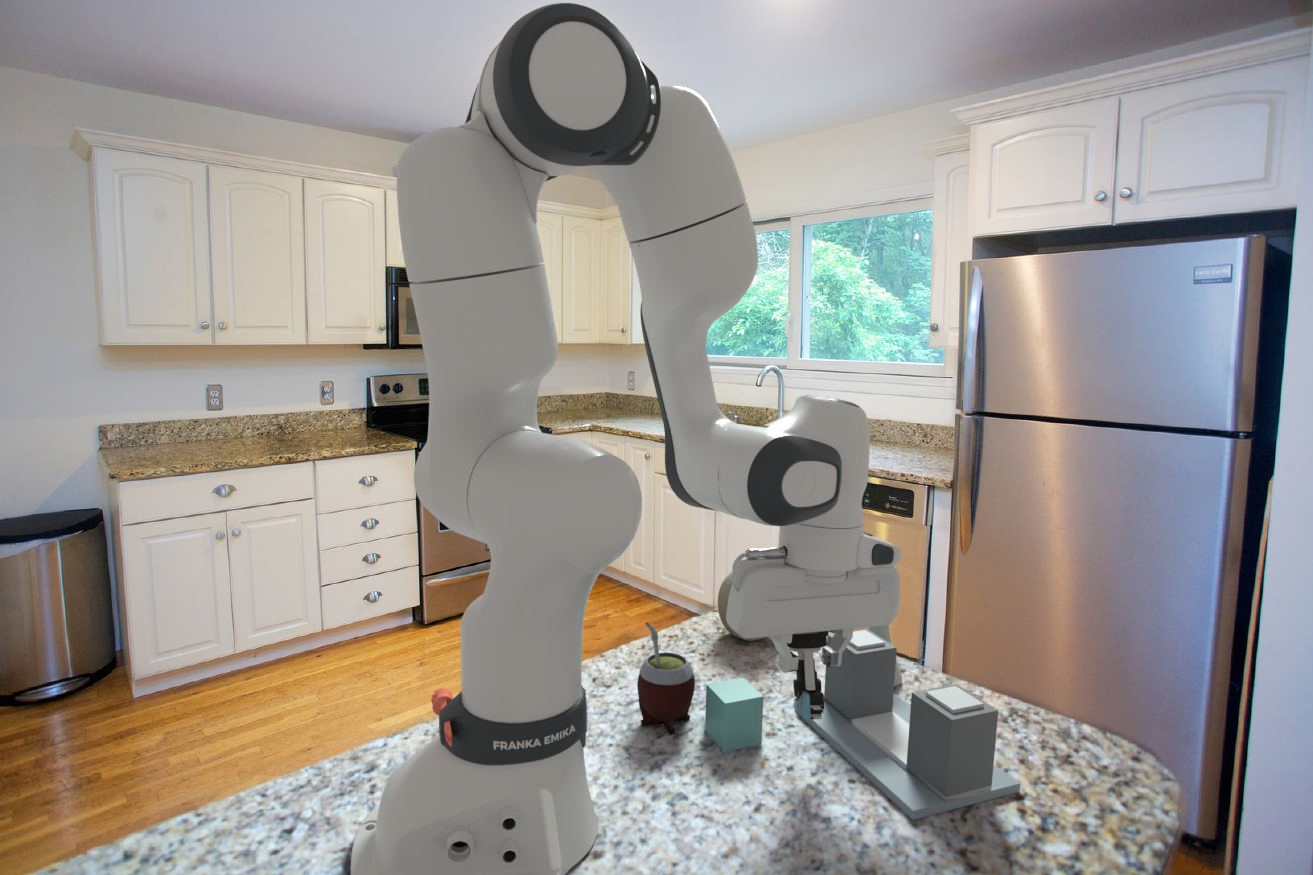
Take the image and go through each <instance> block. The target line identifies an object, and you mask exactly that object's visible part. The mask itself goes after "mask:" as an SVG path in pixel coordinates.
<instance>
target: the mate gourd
mask: <svg viewBox="0 0 1313 875" xmlns="http://www.w3.org/2000/svg"><path fill="white" fill-rule="evenodd" d="M644 624H645V625H646V626H647V628H648V629H649V631H650V637H651V641H652V642H653V651H654V654H651V655H649V656H648V657H647V658H646V659H645V660H644V661H643V663H642V664H641V666H640V669H639V674H638V677H637V682H636V683H637V695H638V706H639V709H640V710H639V711H640V713H641V717H642V719H640V725H641V727H650V726H657V725H661V726H662V725H663V726H664V728H665V730H666V733H667V734H668V736H675V735H676V732H677V731H676V729H675V727H674V725H675V723H680V722H681V723H682V722H688V721H690V718H691V715H690V714H689V711H690V708H691V705H692V701H693V698H694V693H695V687H696V679H695V673H694V668H693V666H692V665H691V664H690V662H689V661H688V659H687V658H686V657H685V656H683V655H681V654H678V653H674V652H664V651H663V652H660V649H659V643H658V640H659V635H658V634H659V633H658V631H656V629H655V626H653V625H652V624H651V623H650V622H647V621H646V622H645V623H644Z"/></svg>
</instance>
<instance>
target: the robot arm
mask: <svg viewBox="0 0 1313 875" xmlns="http://www.w3.org/2000/svg"><path fill="white" fill-rule="evenodd" d="M638 56H639V55H637V53H636V51H635V49H634V48H633V46H632V44H631V43H630V41H629V40H628V38H627V37H626V36H625V35H624V34H623V33H622V32H621V30H620V28H618V27H617V26H616V24H614V23H613V22H612V21H611V19H609V18H607V17H606V16H605V15H604V14H602V13H600V11H597V10H595V9H593V8H591V7H588V6H586V5H582V4H578V3H574V2H573V3H572V2H557V3H550V4H547V5H543V6H541V7H538V8H536V9H534V10H532V11H530V12H528V13H526V14H524V15H523V16H521V17H520V18H519V19H518V20H516V21H515V23H513V24H512V25H511V26H510V28H509V29H508V30H507V31H506V33H505V34H504V36H503V38H502V39H501V40H500V42H499V43H498V44H497V45H496V46H495V47H494V48H493V49H492V51H491V52H490V54H489V55H488V58H487V60H486V61H485V64H484V66H483V69H482V71H481V75H480V78H479V81H478V83H477V86H476V87H475V91H474V94H473V96H472V99H471V103H470V108H469V109H468V110H469V111H468V113H467V117H466V119H465V123H463V124H461V125H459V126H449V127H442V128H438V129H434V130H431V131H429V132H427V133H424V134H422V135H420V136H419V137H418V138H417V137H416V139H415V140H413V141H412V142H411V143H409V144H408V145H407V146H406V147H405V149H404V150H403V151H402V153H401V155H400V157H399V159H398V162H397V167H396V199H397V201H396V202H397V214H398V226H399V233H400V240H401V241H400V242H401V246H402V255H403V262H404V267H405V272H406V276H407V280H408V282H409V290H410V294H411V298H412V303H413V308H414V312H415V317H416V320H417V326H418V330H419V335H420V340H421V345H422V346H421V347H422V351H423V353H424V354H423V355H424V359H425V366H426V373H427V379H428V394H429V395H428V400H429V401H428V402H429V403H428V404H429V405H428V423H427V424H428V427H427V429H428V430H427V440H426V443H425V444H424V446H423V447H422V448H421V451H420V452H419V454H418V456H417V459H416V462H415V466H414V470H413V471H414V472H413V483H414V489H415V492H416V496H417V497H418V500H419V502H420V503H421V504H422V506H423V507H424V508H425V509H426V510H427V511H428V512H429V513H430V514H431V515H432V516H433V517H434V518H436V519H437V520H438V521H439V522H440V523H441V524H443V525H444V526H445V527H446V528H447V529H449V530H451V532H454V533H457V534H458V535H461V536H464V537H467V538H470V539H472V540H475V541H478V542H481V543H484V544H486V545H487V547H488V549H489V553H490V567H489V572H488V573H489V574H488V577H487V582H486V584H485V588H484V591H483V594H481V595H480V596H478V597H477V598H476V599H474V600H473V601H472V602H471V603H470V604H469V605H468V606H467V607H466V609H465V611H464V612H463V615H462V616H461V620H460V626H459V629H460V673H461V674H460V676H461V682H460V683H461V690H460V691H459V692H458V694H457V695H456V696H454V695H453V691H451V690H450V689H449V688H448V687H440V688H437V689H436V690H434V693H432V695H431V699H430V700H431V705H432V712H433V713H434V714H436V715H437V716H438V733H439V734H438V735H436V736H435V737H434V738H433V739H431V740H430V741H429V742H428V743H426V744H425V745H424V746H423V747H421V748H420V749H419V750H417V752H415V753H414V754H412V755H411V756H410V757H408V759H406V760H405V761H403V762H402V763H400V764H399V765H398V766H397V767H396V768H394V770H393V771H392V772H391V773H390V776H389V777H388V779H387V782H386V784H385V786H384V789H383V792H382V795H381V798H380V802H379V806H378V807H376V808H374V809H373V810H372V811H370V812H369V814H368V815H367V816H366V817H365V818H364V820H363V821H362V822H361V824H360V826H359V827H358V829H357V832H356V833H355V837H354V839H353V844H352V850H351V857H350V858H351V859H350V868H349V870H350V871H349V872H350V874H349V875H566V874H567V873H568V872H569V870H571V869H572V868H573V867H574V866H575V865H577V864H578V863H579V862H580V861H581V860H582V859H583V858H584V857H585V856H586V855H587V854H588V853H589V851H590V850H591V849H592V847H593V845H594V843H595V841H596V838H597V834H598V832H599V831H598V830H599V820H598V817H597V813H596V811H595V807H594V804H593V801H592V797H591V793H590V789H589V782H588V777H587V770H586V763H585V762H586V761H585V752H584V751H585V750H584V748H585V746H586V744H587V742H586V741H587V733H588V700H587V693H586V689H585V687H583V684H582V677H583V676H582V668H583V667H582V666H583V664H582V663H583V638H584V637H583V636H584V635H583V634H584V621H585V615H586V608H587V605H588V600H589V597H590V594H591V592H592V589H593V587H594V584H595V583H596V580H597V579H598V577H599V575H600V574H601V573H602V572H603V571H604V570H605V569H606V567H608V566H610V565H611V564H612V563H614V562H616V561H617V560H618V559H619V558H620V557H621V556H622V555H623V554H624V553H625V552H626V551H627V549H628V548H629V546H630V545H631V544H632V542H633V540H634V538H635V536H636V534H637V531H638V529H639V526H640V522H641V519H642V518H641V517H642V510H643V498H642V490H641V486H640V482H639V480H638V477H637V475H636V473H635V472H634V471H633V469H632V468H631V466H630V465H629V464H628V463H627V462H626V461H624V460H623V459H621V458H620V457H618V456H616V455H614V454H613V453H611V452H609V451H607V450H605V449H603V448H601V447H599V446H597V445H595V444H593V443H591V442H588V441H586V440H584V439H580V438H575V437H568V436H562V435H559V434H558V435H556V434H553V433H552V434H551V433H545V432H542V430H541V429H540V426H539V423H538V422H539V421H538V411H537V410H538V398H539V397H538V396H539V389H540V386H541V382H542V381H543V378H545V376H547V374H548V373H549V372H551V370H552V368H553V367H554V366H555V364H556V361H557V359H558V354H559V341H558V336H557V331H556V329H557V328H556V325H555V318H554V312H553V307H552V306H553V305H552V300H551V297H550V291H549V283H548V278H547V273H546V265H545V264H544V263H545V261H544V255H543V249H542V245H541V241H540V237H539V231H538V228H537V223H538V201H539V197H540V193H541V190H542V188H543V186H544V184H545V182H548V181H551V180H553V179H556V178H557V177H561V176H567V175H571V174H574V173H578V172H587V173H588V174H590V175H592V176H593V177H595V178H596V179H597V180H598V181H599V182H600V183H601V184H602V185H603V186H604V188H606V190H607V192H608V193H609V194H610V196H611V198H612V200H613V203H614V204H615V206H617V208H618V212H619V216H620V220H621V223H622V224H621V225H622V226H623V229H624V232H625V236H626V240H627V242H628V245H629V248H630V250H631V251H630V252H631V255H632V258H633V261H634V266H635V269H636V274H637V277H638V283H639V288H640V295H641V296H640V297H641V303H640V310H639V312H640V324H641V332H642V337H643V342H644V346H645V351H646V356H647V359H648V363H649V368H650V373H651V377H652V381H653V385H654V389H655V393H656V397H657V402H658V406H659V410H660V414H661V418H662V423H663V432H664V468H665V475H666V478H667V482H668V484H669V486H670V488H671V490H672V492H673V493H674V494H675V495H676V497H677V498H678V499H679V500H681V501H682V502H683V503H684V504H687V505H688V506H691V507H695V508H700V509H703V510H704V509H705V510H710V511H717V512H719V513H720V512H721V513H723V514H726V515H730V516H732V517H736V518H739V519H744V520H747V521H751V522H755V523H758V524H762V525H764V526H770V527H771V526H772V527H779V533H778V534H779V535H778V546H775V547H765V548H759V547H758V548H757V547H756V548H755V547H753V548H752V547H751V548H747V549H746V550H745V552H744V553H741V554H740V555H739V556H737V557H736V558H735V560H733V563H732V570H731V572H732V585H731V590H730V594H729V600H728V606H727V613H726V621H727V623H728V625H729V626H730V627H731V629H732V630H733V631H735V632H736V633H737V634H738V635H740V636H741V637H743V638H746V639H748V638H759V637H765V638H767V637H769V638H771V640H772V643H773V644H774V646H775V649H776V650H777V652H778V657H777V658H778V660H777V666H778V668H779V670H781V671H782V672H783V673H792V672H796V671H797V670H798V666H797V664H798V661H799V657H798V654H795V653H794V651H791V650H789V647H788V645H787V643H791V642H792V634H800V633H811V632H821V631H828V632H830V631H831V632H833V634H834V636H833V638H832V640H831V642H830V644H829V647H827V646H824V647H821V654H822V655H821V658H820V659H821V663H822V665H825V666H826V665H827V667H836V666H841V661H842V652H844V650H845V648H846V647H847V645H848V644H849V642H850V641H851V639H852V637H853V631H854V629H861V628H862V629H863V628H869V627H873V626H884V625H889V626H890V625H892V623H893V622H894V621H895V619H896V618H897V617H898V613H899V609H900V608H899V607H900V599H901V598H900V597H901V576H900V573H899V572H900V571H899V570H898V569H897V567H896V566H897V565H898V564H899V563H900V561H901V556H902V552H901V551H902V550H901V548H900V547H899V546H897V545H895V544H894V543H891V542H889V541H886V540H884V539H882V538H880V537H876V536H874V535H873V534H871V533H868V532H866V531H864V524H865V518H864V514H863V513H864V512H863V509H862V508H863V507H862V505H863V504H862V502H863V497H864V494H865V491H866V489H867V486H868V481H869V480H868V479H869V468H870V429H869V428H870V427H869V422H868V417H867V413H866V412H865V409H863V408H862V407H860V405H858V404H856V403H854V402H852V401H848V400H845V399H840V398H833V397H829V396H826V395H824V396H823V395H816V394H815V395H813V394H810V395H809V394H807V395H802V396H799V397H797V399H796V400H795V402H794V406H792V407H791V408H790V409H789V410H787V412H786V413H784V414H783V415H781V416H780V417H778V418H777V419H775V420H773V421H770V422H768V423H766V424H763V425H762V426H754V425H747V424H742V423H736V422H734V421H733V420H731V419H730V418H728V417H727V416H726V415H725V414H724V413H723V412H722V411H721V409H720V407H719V406H718V403H717V397H716V392H715V388H714V383H713V382H714V381H713V377H712V373H711V372H712V371H711V369H710V368H711V367H710V363H709V358H708V357H709V356H708V352H707V336H708V332H709V330H710V328H711V326H712V325H713V323H715V322H716V321H717V320H718V319H720V318H721V317H722V316H724V315H725V314H727V313H728V312H730V311H731V310H732V309H733V308H734V307H736V305H737V304H739V302H740V301H741V300H742V298H744V296H745V295H746V293H747V292H748V290H749V289H750V287H751V285H752V283H753V280H754V278H755V276H756V273H757V270H758V267H759V256H758V255H759V252H758V243H757V242H758V241H757V236H756V235H757V234H756V230H755V226H754V222H753V218H752V215H751V212H750V208H749V205H748V202H747V198H746V195H745V191H744V188H743V184H742V181H741V178H740V175H739V172H738V169H737V167H736V164H735V160H734V159H733V156H732V154H731V151H730V148H729V146H728V143H727V141H726V139H725V137H724V134H723V133H722V129H721V128H720V126H719V124H718V122H717V119H716V117H715V116H714V113H713V112H712V110H711V107H710V106H709V104H708V103H707V101H706V100H705V99H704V98H703V96H701V95H700V94H699V93H698V92H696V91H694V90H693V89H690V88H688V87H684V86H678V85H661V84H660V82H659V79H658V78H657V76H656V74H655V73H654V72H653V71H652V70H651V69H650V68H649V67H648V66H647V65H646V64H645V62H643V60H642V59H640V57H638ZM651 86H653V87H651Z"/></svg>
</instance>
